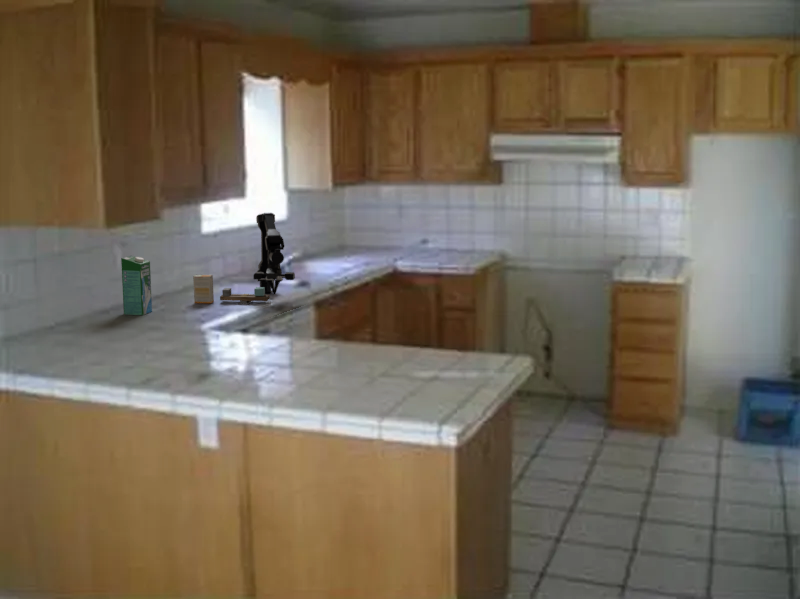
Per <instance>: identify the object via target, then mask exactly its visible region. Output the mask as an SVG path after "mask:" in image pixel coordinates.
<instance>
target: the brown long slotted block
mask: <svg viewBox="0 0 800 599" xmlns="http://www.w3.org/2000/svg"><path fill="white" fill-rule="evenodd" d="M221 291H222V294H221V295H220V296H219V301H232V302H233V301H237V304H238V305H250V303H252V302H267V301H268V300H269V299H270V294H264V296H254V294H250V293H240V294H239V293H232V287H224V288H223V289H222V290H221ZM238 301H239V302H238ZM251 301H252V302H251Z"/></svg>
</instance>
